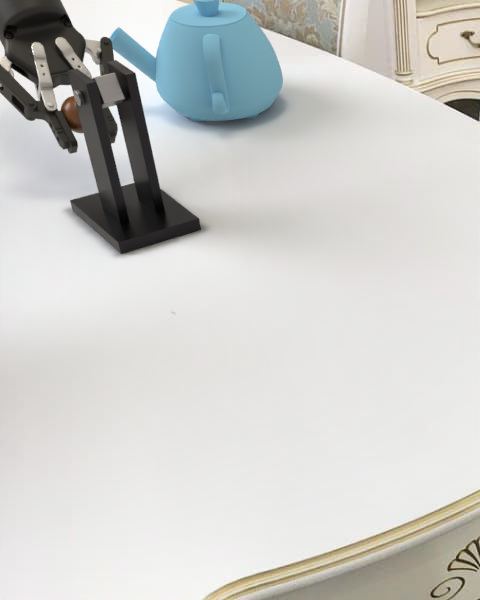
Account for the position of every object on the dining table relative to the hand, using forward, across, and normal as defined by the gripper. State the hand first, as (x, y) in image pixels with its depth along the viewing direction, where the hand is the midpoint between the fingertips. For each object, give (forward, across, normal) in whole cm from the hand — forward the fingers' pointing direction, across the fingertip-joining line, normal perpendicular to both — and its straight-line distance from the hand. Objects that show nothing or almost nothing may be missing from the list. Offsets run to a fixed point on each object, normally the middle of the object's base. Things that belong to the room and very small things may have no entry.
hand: (93, 143), depth 117 cm
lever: (0, 0, -5) cm, 5 cm away
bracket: (+9, 0, -1) cm, 9 cm away
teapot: (-8, +20, +15) cm, 26 cm away
